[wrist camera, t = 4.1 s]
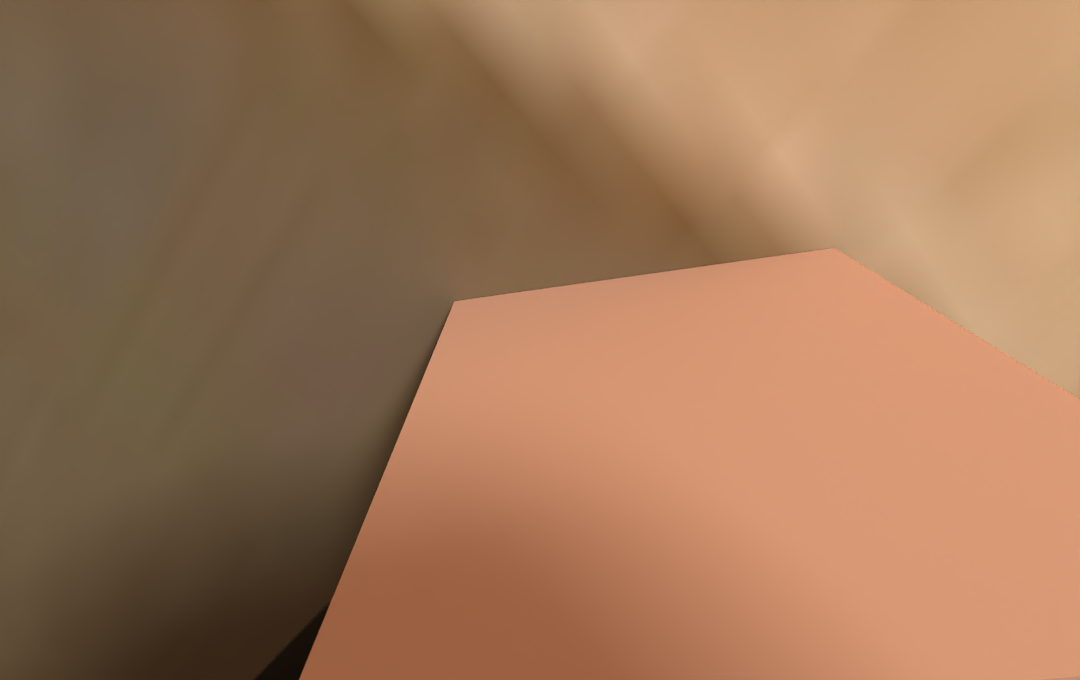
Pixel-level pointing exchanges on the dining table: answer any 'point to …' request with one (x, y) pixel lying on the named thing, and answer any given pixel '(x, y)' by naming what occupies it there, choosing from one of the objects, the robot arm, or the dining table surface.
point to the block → (718, 492)
